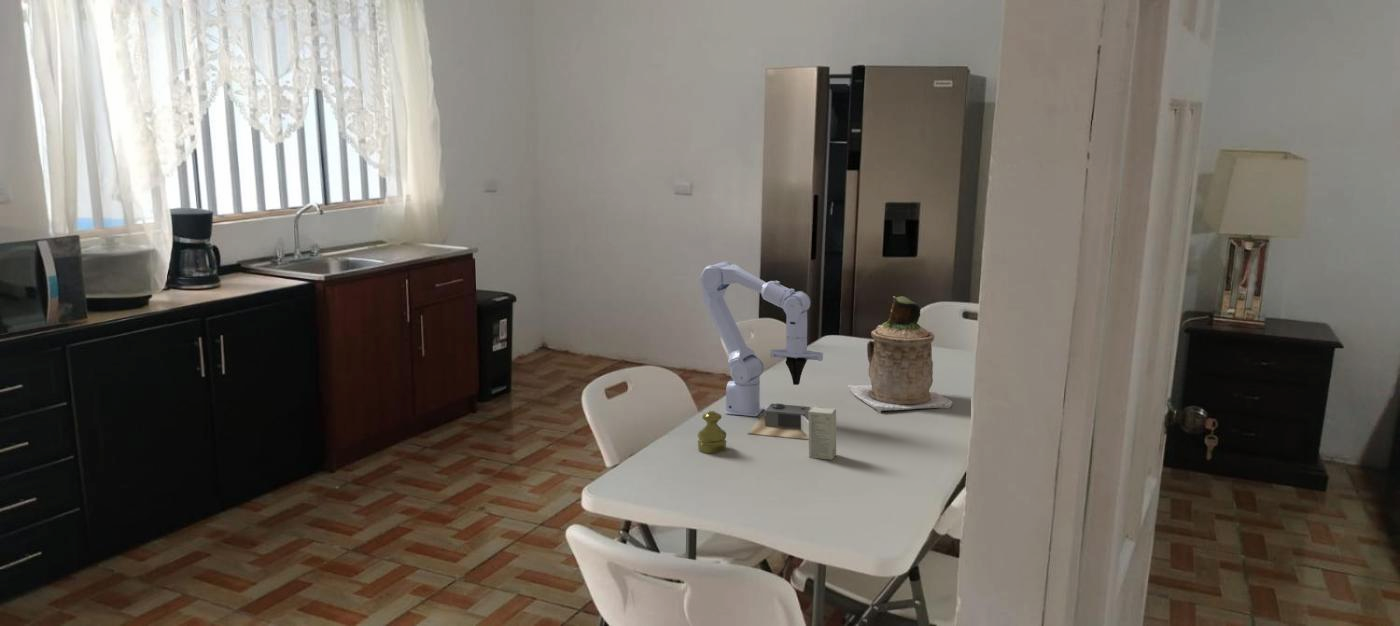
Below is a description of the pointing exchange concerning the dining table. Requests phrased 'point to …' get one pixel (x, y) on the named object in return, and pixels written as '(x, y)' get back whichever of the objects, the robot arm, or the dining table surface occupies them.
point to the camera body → (785, 416)
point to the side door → (805, 425)
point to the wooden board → (776, 431)
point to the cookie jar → (900, 363)
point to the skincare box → (822, 432)
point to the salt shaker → (712, 434)
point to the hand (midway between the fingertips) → (796, 383)
